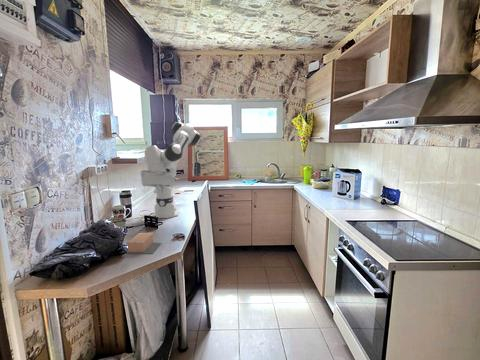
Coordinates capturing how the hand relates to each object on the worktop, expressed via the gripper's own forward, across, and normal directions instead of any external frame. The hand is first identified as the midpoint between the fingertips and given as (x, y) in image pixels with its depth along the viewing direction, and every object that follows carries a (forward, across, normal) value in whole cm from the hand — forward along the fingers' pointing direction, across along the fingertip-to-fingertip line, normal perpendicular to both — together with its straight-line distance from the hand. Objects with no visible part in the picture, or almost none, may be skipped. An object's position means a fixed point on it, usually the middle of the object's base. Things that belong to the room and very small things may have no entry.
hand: (161, 193), depth 148 cm
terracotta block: (+21, -6, +13) cm, 26 cm away
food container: (+12, -12, +36) cm, 40 cm away
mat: (+27, -13, +11) cm, 32 cm away
